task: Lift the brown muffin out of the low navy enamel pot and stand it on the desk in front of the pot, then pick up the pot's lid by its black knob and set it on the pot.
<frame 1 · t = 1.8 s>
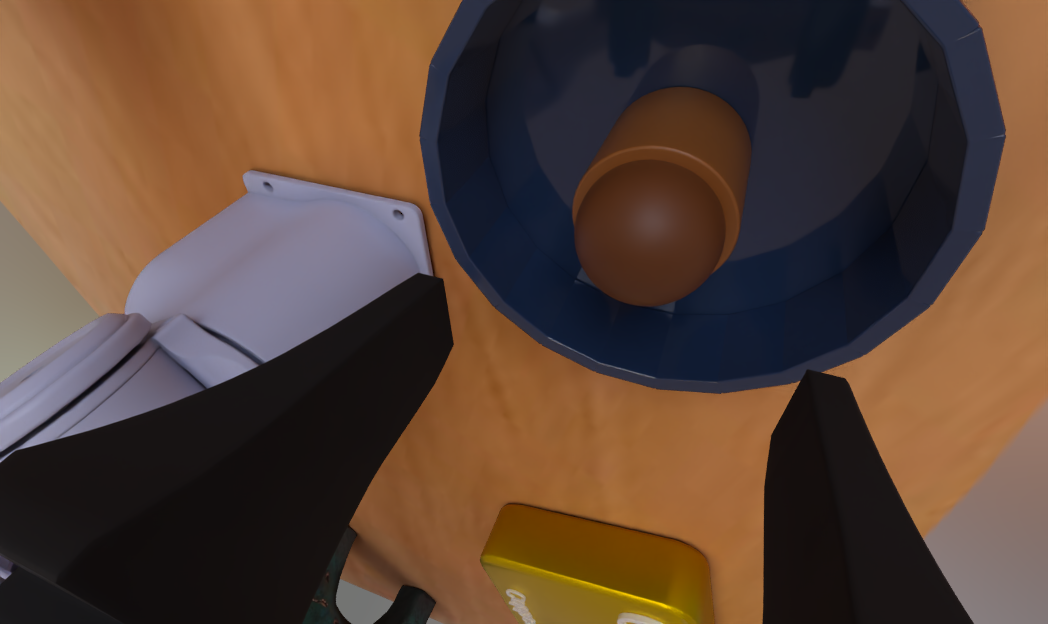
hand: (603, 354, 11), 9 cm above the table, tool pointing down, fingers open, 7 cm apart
element tile: (610, 568, 40), on the table
ceramic cat: (385, 562, 62), on the table
pot: (678, 150, 17), on the table
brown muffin: (676, 157, 17), resting on pot
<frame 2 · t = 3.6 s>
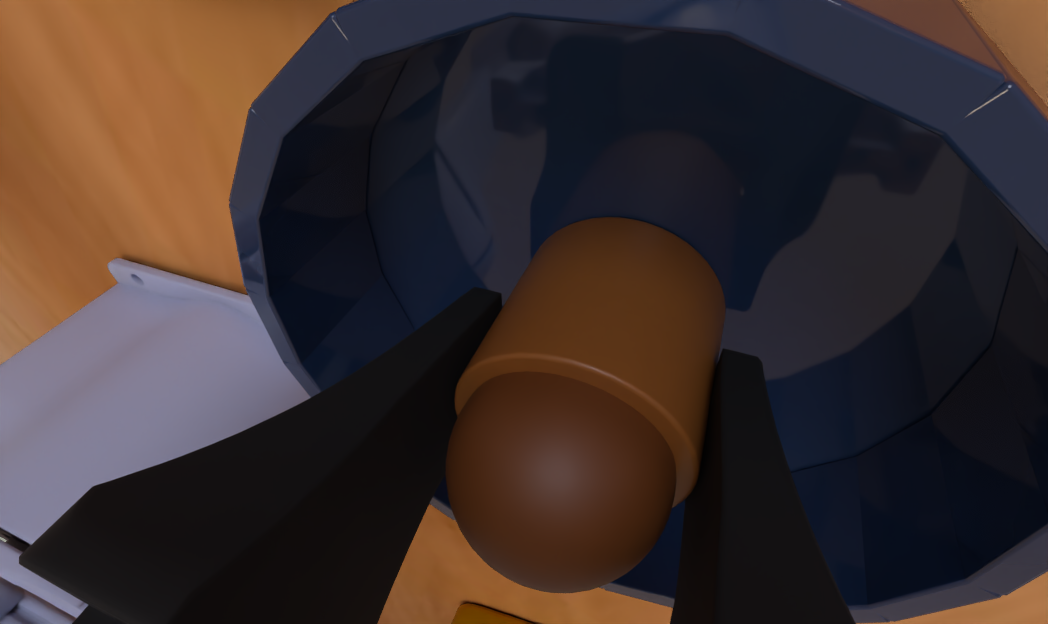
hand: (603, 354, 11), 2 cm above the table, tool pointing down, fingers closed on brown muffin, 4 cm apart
pot: (628, 287, 12), on the table
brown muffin: (621, 300, 12), point 1 cm above the table, touching gripper, pot
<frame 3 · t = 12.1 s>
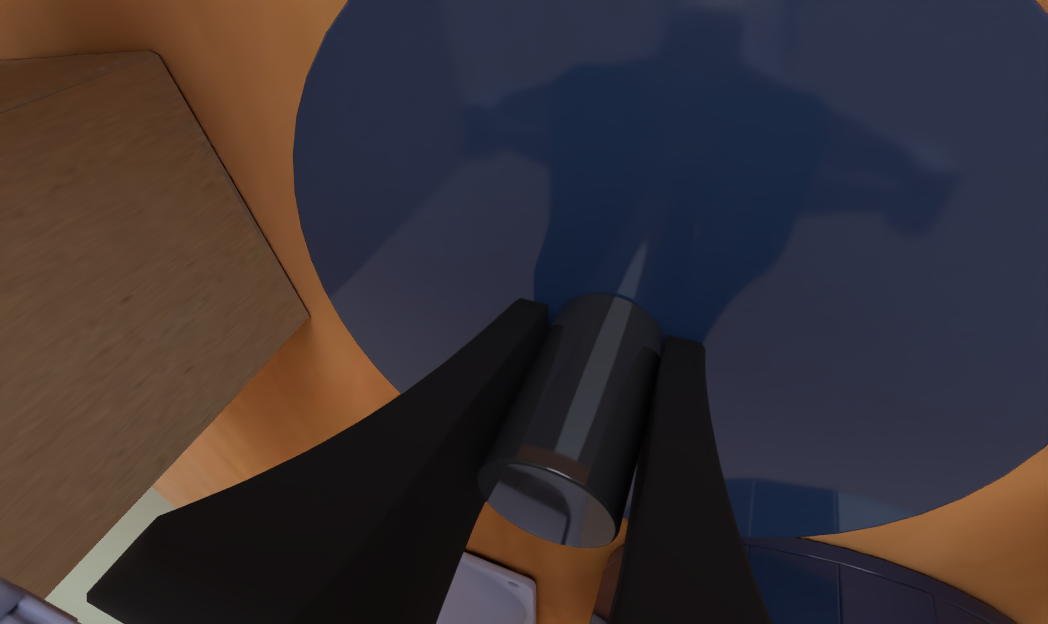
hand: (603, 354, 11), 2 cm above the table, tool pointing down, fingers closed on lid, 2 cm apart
lid: (614, 321, 11), point 1 cm above the table, touching gripper
sandwich container: (87, 195, 18), on the table
when the fingers open (5 cm above the table, at t = 16.7 s): lid stays where it is, resting on pot.
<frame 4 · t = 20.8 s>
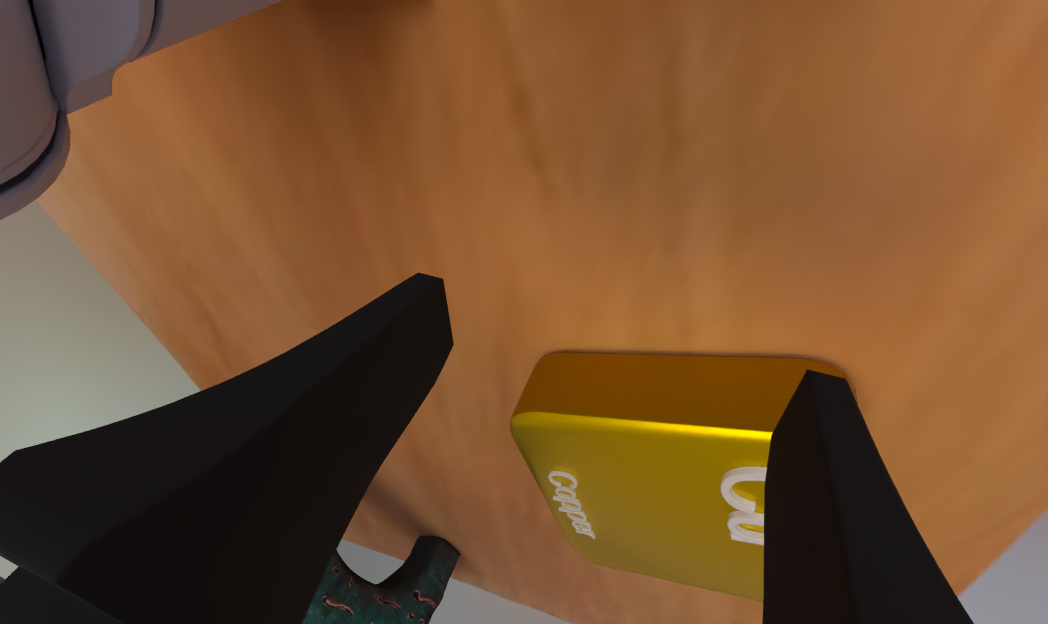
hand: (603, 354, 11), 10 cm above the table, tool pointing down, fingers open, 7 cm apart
element tile: (690, 445, 29), on the table
ceramic cat: (396, 505, 52), on the table
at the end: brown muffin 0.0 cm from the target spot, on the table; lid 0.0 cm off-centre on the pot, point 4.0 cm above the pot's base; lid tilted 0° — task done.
